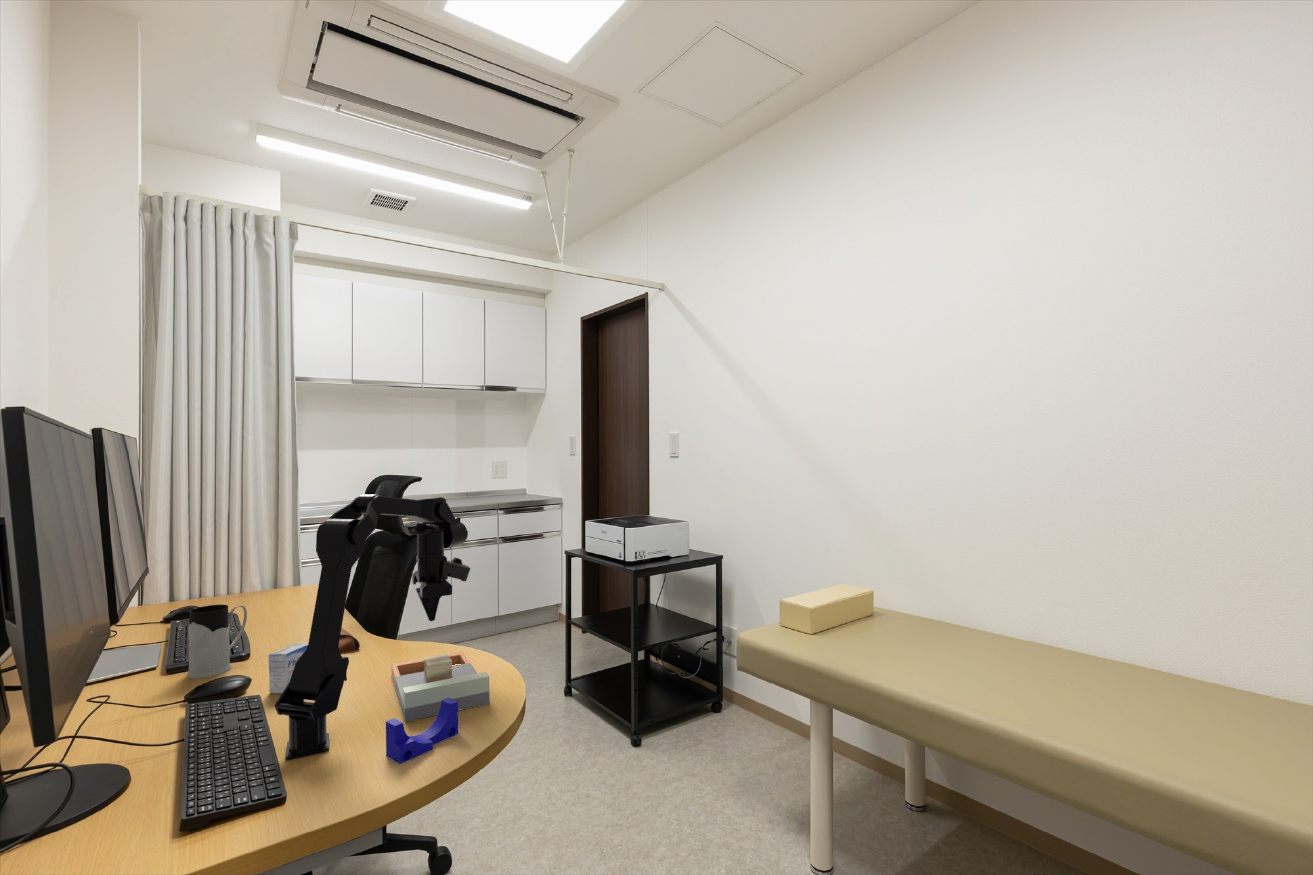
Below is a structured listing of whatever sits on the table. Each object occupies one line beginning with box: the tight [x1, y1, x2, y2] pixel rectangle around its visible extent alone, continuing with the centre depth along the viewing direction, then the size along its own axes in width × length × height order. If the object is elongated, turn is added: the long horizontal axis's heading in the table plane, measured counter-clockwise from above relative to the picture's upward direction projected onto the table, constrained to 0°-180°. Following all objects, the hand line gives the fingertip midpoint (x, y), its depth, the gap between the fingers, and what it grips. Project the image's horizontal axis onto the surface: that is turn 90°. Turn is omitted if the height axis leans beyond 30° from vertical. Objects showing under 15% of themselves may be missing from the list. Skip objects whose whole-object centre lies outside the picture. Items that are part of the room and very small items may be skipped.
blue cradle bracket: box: [385, 698, 459, 765], centre depth 106 cm, size 12×4×6 cm, turn 142°
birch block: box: [424, 653, 452, 683], centre depth 131 cm, size 5×5×4 cm
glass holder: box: [186, 604, 248, 679], centre depth 147 cm, size 9×14×15 cm, turn 166°
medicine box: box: [268, 642, 308, 695], centre depth 134 cm, size 8×4×9 cm, turn 168°
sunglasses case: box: [339, 627, 361, 654], centre depth 163 cm, size 18×7×7 cm, turn 43°
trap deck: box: [390, 651, 491, 723], centre depth 131 cm, size 28×16×6 cm, turn 29°
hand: (431, 620), depth 138 cm, fingers closed
